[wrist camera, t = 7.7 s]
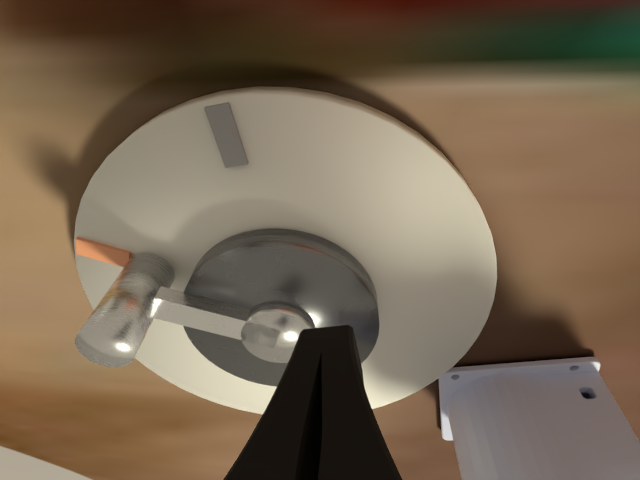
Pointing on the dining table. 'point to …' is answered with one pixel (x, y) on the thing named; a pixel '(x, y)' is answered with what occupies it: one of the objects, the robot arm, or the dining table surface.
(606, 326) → the dining table surface
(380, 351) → the dial plate
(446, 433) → the robot arm
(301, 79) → the dining table surface
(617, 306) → the dining table surface
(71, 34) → the dining table surface
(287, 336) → the dial
